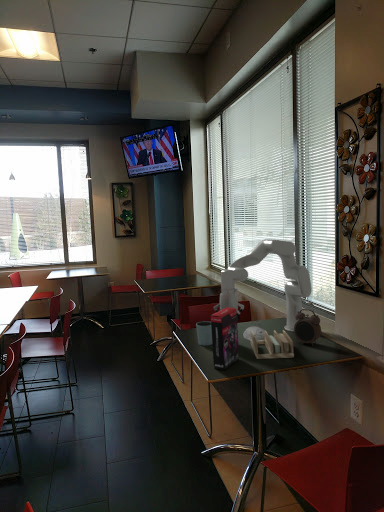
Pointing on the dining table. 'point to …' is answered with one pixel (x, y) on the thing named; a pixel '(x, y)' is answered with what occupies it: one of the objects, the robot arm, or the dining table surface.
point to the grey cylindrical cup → (204, 333)
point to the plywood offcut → (284, 344)
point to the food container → (254, 333)
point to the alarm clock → (307, 327)
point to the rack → (269, 346)
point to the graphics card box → (224, 338)
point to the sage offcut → (275, 345)
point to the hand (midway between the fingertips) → (229, 320)
